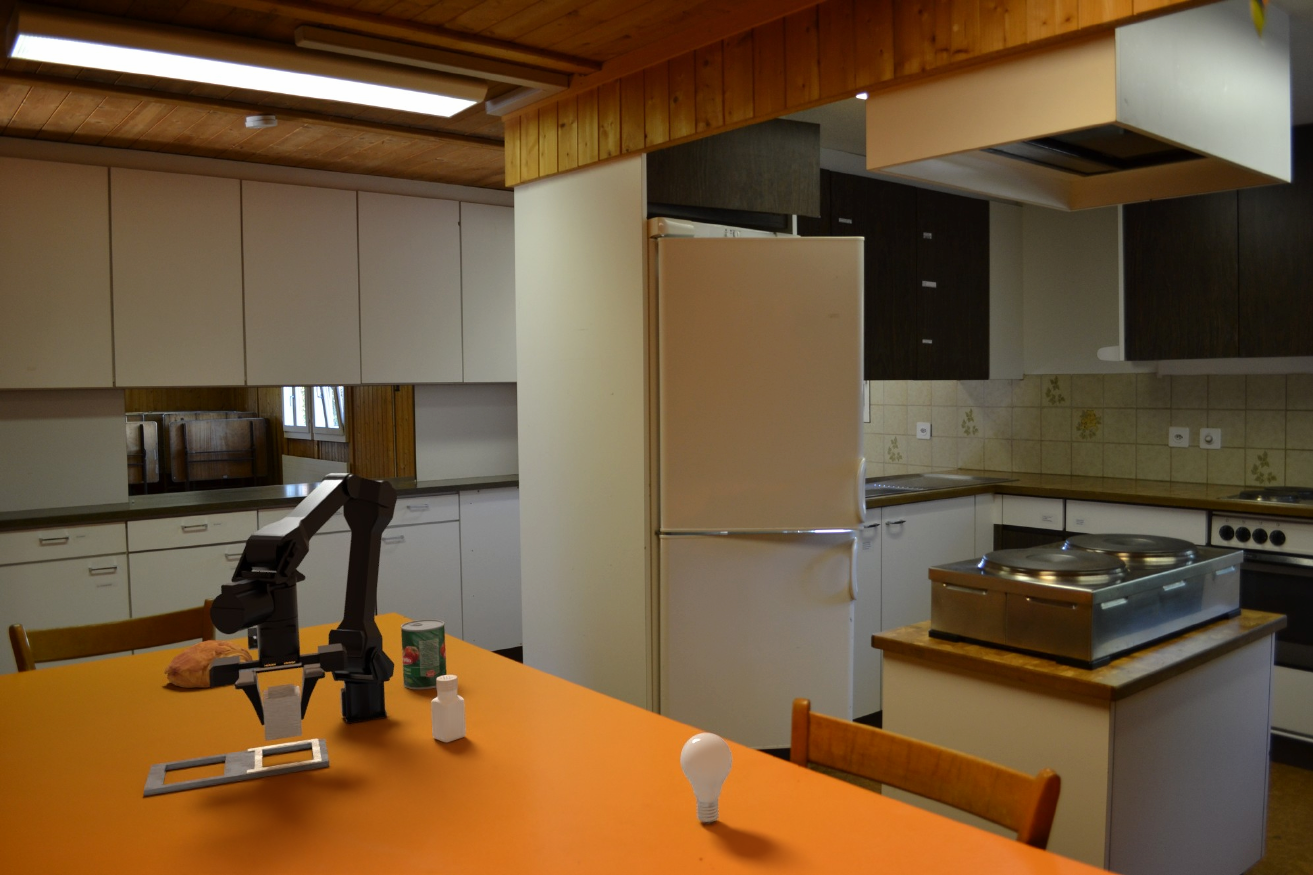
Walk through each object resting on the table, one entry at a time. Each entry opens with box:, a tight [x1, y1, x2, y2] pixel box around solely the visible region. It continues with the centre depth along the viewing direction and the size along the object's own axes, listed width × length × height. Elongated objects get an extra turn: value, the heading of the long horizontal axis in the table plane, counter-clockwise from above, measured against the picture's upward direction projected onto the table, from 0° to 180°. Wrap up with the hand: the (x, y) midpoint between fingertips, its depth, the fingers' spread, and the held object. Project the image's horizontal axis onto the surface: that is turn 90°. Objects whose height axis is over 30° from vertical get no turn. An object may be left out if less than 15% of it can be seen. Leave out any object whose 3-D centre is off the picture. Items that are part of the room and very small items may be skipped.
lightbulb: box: [679, 732, 733, 824], centre depth 121 cm, size 6×6×11 cm
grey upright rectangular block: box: [262, 683, 303, 742], centre depth 145 cm, size 5×5×7 cm
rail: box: [143, 738, 330, 797], centre depth 143 cm, size 24×10×1 cm, turn 112°
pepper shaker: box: [430, 674, 467, 743], centre depth 153 cm, size 4×4×10 cm
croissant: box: [163, 639, 254, 689], centre depth 190 cm, size 14×16×8 cm
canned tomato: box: [400, 619, 448, 690], centre depth 182 cm, size 8×8×11 cm
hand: (282, 721), depth 145 cm, fingers closed on grey upright rectangular block, 5 cm apart
